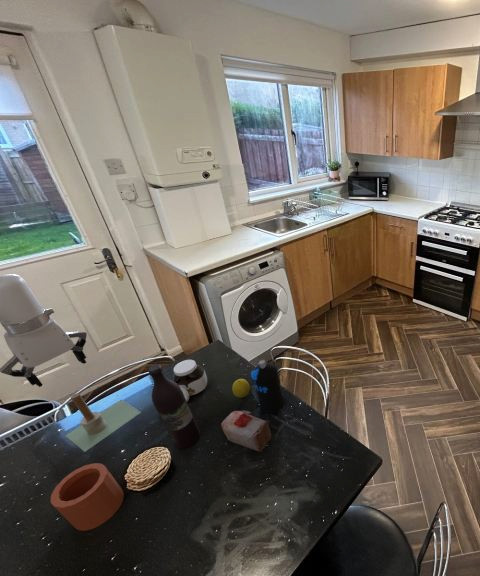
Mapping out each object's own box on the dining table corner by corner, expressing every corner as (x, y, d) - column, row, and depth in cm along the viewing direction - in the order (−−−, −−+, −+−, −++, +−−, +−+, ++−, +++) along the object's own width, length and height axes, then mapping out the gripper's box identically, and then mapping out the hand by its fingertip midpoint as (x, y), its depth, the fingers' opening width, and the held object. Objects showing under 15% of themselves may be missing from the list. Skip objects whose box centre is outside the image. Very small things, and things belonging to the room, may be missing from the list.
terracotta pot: (86, 539, 74) (63, 516, 69) (65, 517, 78) (42, 493, 73) (132, 498, 82) (114, 474, 77) (111, 480, 86) (93, 456, 81)
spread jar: (209, 378, 120) (201, 355, 114) (208, 400, 111) (199, 376, 105) (173, 388, 115) (163, 364, 110) (169, 411, 106) (157, 387, 101)
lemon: (232, 401, 110) (226, 385, 106) (240, 389, 115) (236, 373, 111) (246, 403, 110) (241, 387, 106) (254, 391, 114) (250, 375, 110)
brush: (92, 437, 97) (69, 404, 90) (84, 431, 99) (61, 398, 92) (110, 425, 101) (88, 392, 93) (102, 419, 103) (80, 387, 95)
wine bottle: (173, 452, 93) (135, 381, 79) (176, 433, 99) (141, 363, 84) (200, 444, 96) (167, 372, 81) (201, 425, 102) (171, 356, 87)
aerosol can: (277, 391, 114) (268, 349, 104) (288, 404, 109) (279, 362, 99) (256, 404, 109) (243, 361, 99) (266, 418, 104) (255, 375, 94)
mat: (85, 453, 93) (84, 452, 93) (65, 436, 98) (65, 435, 98) (141, 413, 106) (141, 412, 105) (122, 400, 110) (121, 399, 110)
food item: (222, 442, 96) (214, 421, 92) (240, 421, 103) (233, 401, 98) (259, 456, 93) (252, 435, 88) (275, 433, 99) (270, 412, 94)
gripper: (63, 302, 86) (91, 350, 94) (-31, 337, 72) (12, 389, 81) (76, 309, 83) (105, 357, 91) (-18, 347, 69) (25, 400, 78)
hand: (61, 372), depth 86 cm, fingers open, 9 cm apart
